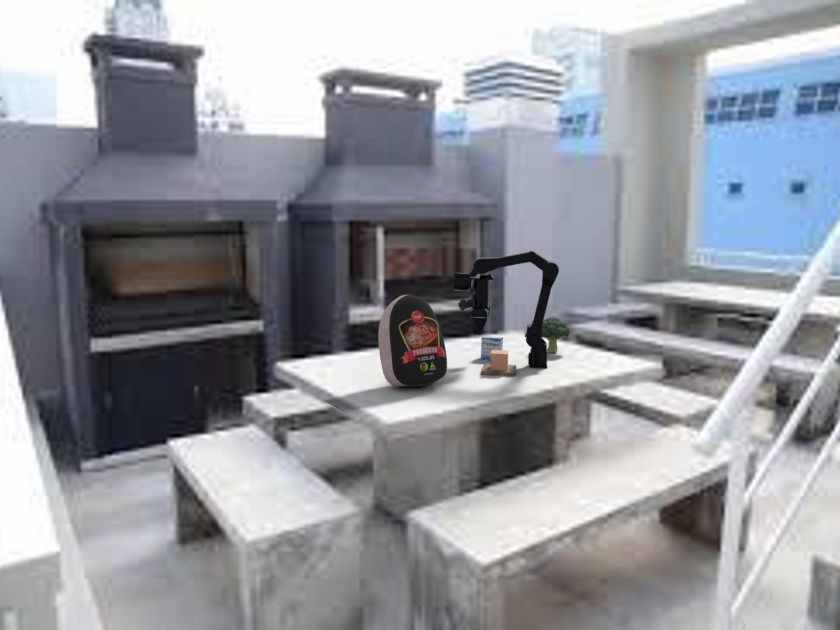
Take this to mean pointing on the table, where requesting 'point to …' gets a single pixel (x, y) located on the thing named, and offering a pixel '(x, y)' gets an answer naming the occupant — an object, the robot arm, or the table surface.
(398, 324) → the packaged food
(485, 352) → the medicine box
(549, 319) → the vegetable
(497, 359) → the terracotta cube
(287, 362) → the table surface
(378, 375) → the table surface
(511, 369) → the walnut board
